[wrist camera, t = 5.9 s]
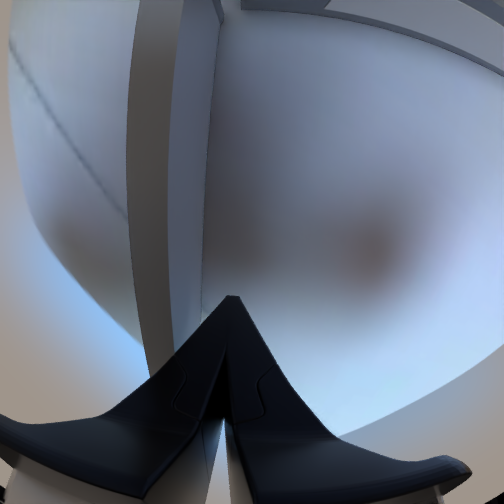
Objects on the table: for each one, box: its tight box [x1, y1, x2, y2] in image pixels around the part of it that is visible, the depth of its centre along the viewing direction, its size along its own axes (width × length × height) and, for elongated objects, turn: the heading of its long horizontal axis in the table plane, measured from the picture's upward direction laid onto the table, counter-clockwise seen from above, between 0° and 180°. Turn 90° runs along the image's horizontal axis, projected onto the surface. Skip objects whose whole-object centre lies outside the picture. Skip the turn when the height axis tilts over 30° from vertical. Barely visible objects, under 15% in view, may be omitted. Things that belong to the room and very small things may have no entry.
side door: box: [126, 0, 224, 377], centre depth 8 cm, size 14×1×6 cm, turn 174°
